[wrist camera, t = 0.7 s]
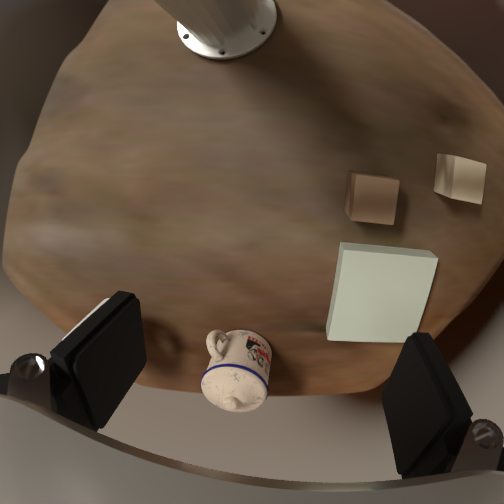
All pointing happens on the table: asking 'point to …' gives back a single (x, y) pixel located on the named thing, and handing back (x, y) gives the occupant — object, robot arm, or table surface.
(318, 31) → the table surface
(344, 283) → the base board
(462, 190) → the ash block
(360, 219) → the walnut block
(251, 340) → the teacup with lid
